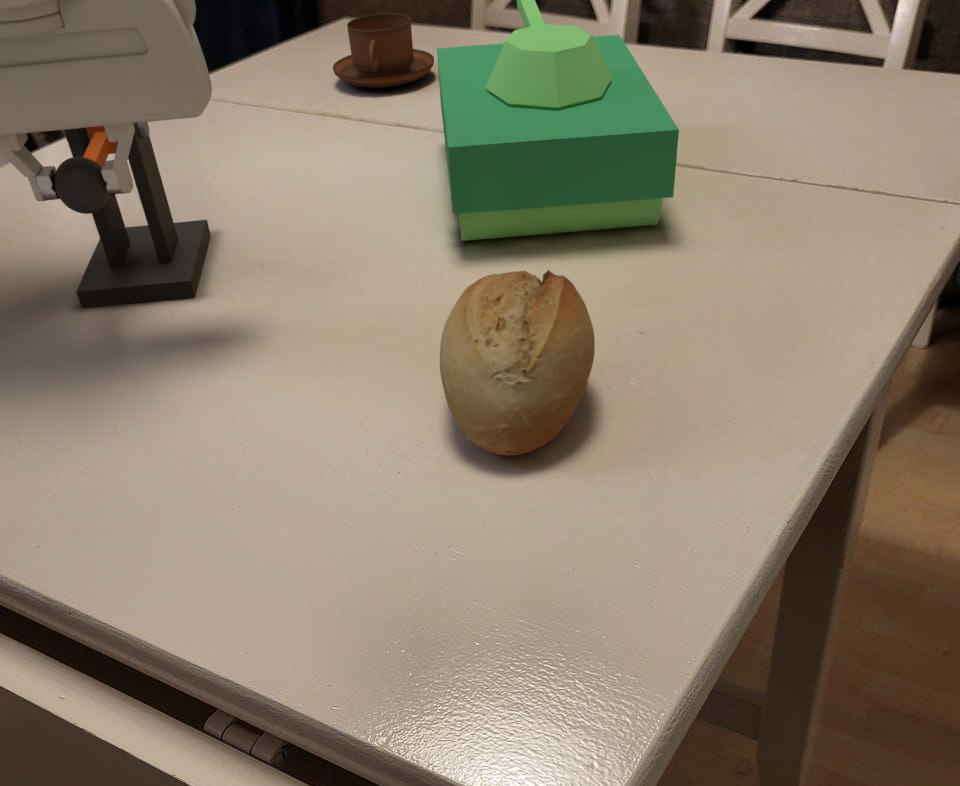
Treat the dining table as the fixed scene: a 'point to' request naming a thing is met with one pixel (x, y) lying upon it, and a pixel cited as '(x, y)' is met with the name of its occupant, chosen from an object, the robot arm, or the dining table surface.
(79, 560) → the dining table surface
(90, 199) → the pendulum
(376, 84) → the cup and saucer
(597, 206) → the toy tank
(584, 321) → the bread roll
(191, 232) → the stand with upright posts
